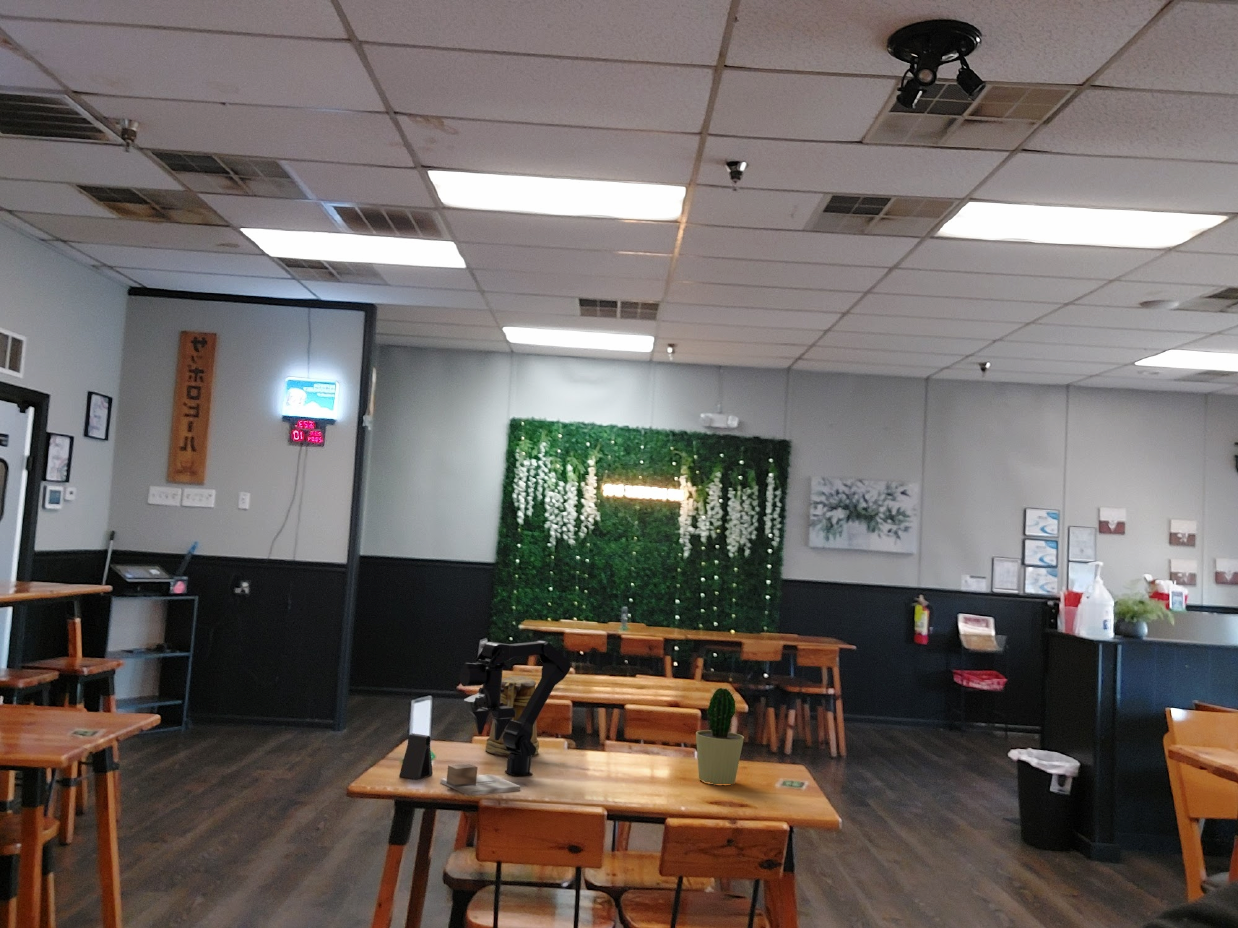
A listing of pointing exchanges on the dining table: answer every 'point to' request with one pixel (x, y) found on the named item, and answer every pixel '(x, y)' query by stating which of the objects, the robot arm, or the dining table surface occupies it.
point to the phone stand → (417, 758)
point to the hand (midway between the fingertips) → (488, 737)
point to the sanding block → (461, 775)
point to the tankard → (517, 698)
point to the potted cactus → (719, 742)
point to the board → (485, 785)
